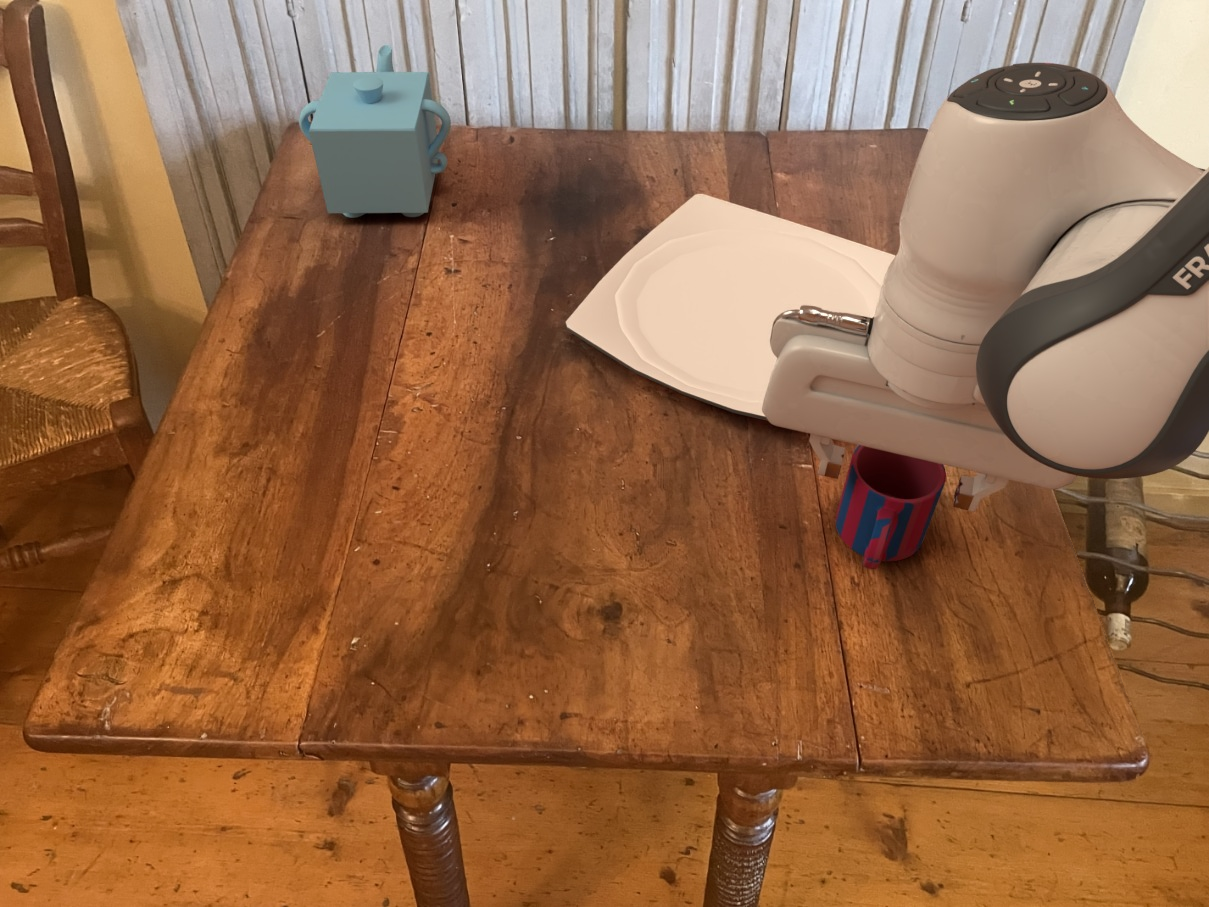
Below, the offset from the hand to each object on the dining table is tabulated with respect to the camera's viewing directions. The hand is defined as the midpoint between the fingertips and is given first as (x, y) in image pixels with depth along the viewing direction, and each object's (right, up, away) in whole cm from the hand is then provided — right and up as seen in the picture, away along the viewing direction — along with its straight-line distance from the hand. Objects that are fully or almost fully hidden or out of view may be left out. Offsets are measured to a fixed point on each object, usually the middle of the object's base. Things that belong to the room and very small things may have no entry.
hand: (895, 486), depth 69 cm
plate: (-6, +15, +24) cm, 29 cm away
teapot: (-44, +33, +41) cm, 69 cm away
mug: (0, -5, +6) cm, 7 cm away
